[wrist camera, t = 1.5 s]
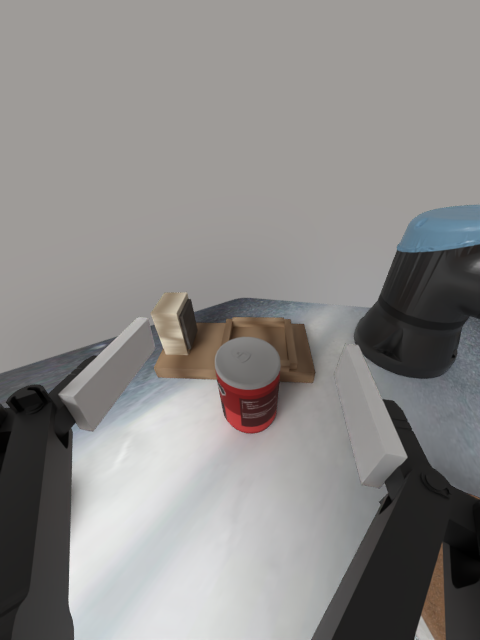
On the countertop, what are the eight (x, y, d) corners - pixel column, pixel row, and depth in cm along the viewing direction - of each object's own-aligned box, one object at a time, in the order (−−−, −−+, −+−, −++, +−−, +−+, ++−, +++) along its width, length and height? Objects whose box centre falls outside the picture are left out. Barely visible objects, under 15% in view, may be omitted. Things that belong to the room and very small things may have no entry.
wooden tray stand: (302, 333, 45) (310, 283, 38) (312, 382, 36) (326, 328, 29) (178, 331, 48) (164, 284, 41) (158, 377, 38) (135, 325, 31)
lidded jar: (492, 791, 13) (676, 936, 7) (344, 558, 21) (378, 539, 15) (560, 639, 17) (717, 657, 11) (414, 489, 24) (462, 453, 19)
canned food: (237, 379, 37) (233, 329, 30) (283, 398, 34) (290, 347, 27) (212, 419, 32) (200, 370, 25) (264, 446, 29) (266, 397, 22)
